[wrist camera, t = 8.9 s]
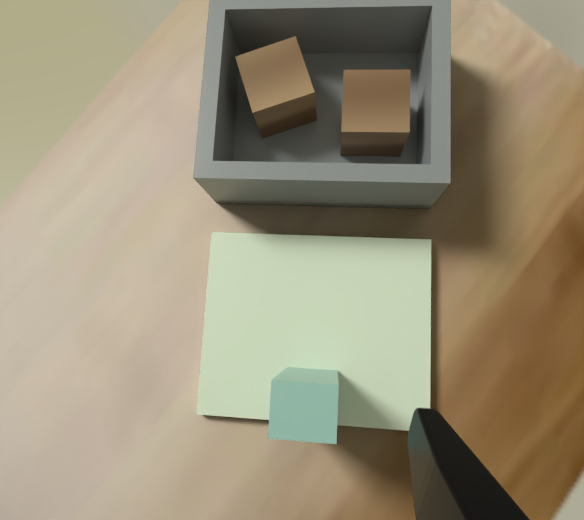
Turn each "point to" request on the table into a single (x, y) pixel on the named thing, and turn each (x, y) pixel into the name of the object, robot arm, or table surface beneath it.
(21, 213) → the table surface
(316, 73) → the tub
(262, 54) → the block
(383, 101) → the block
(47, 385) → the table surface
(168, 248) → the table surface
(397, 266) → the lid
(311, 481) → the table surface
